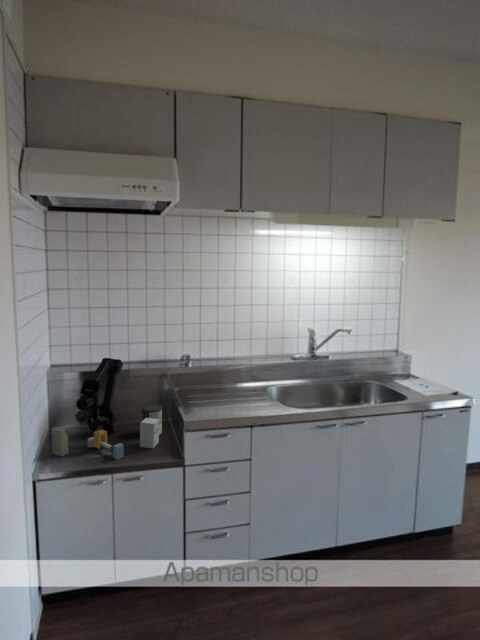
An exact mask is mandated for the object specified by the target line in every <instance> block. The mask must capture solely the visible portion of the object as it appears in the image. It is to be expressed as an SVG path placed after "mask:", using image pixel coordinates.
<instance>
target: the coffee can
mask: <svg viewBox="0 0 480 640" xmlns="http://www.w3.org/2000/svg"><path fill="white" fill-rule="evenodd" d="M145 418H153V419H159V436H160V435H161V434H162V432H163V428H162V427H163V425H162V424H163V406H162V405H161V404H157V403H149V404H145V405H143V406H142V421H143V420H144V419H145Z"/></svg>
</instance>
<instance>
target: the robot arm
mask: <svg viewBox="0 0 480 640" xmlns="http://www.w3.org/2000/svg"><path fill="white" fill-rule="evenodd" d="M123 367H124V363H123V361H122V360H121V359H117V358H111V357H103V358H102V359H101V362H100V364H99V365H98V367H97V368H96V369H95V371H94V372H93V373H92V374H90V375H87V377H86V378H85V379H84V380H83V383H82V386H81V389H80V394H81V395H80V396H79V399H77V401H76V408H77V410H78V409H79V410H78V411H77V413H76V414H75V415H74V417H75V420H76V421H77V422H79V423H81V424H82V423H84V422H85V423H86V424H87V425H88V428H89V432H90V434H91V435H94V432H95V431H97V429H98V427H101V429H100V430H105V431H107V436H108V435H112V434H115V433H116V432H117V430H115V427H114V425H115V424H114V423H117V420H118V415H117V414H116V412H115V407H114V405H113V401H114V395H115V388H116V383H117V378H118V376H119V375H120V373H121V372H122V369H123ZM106 374H107V378H106V383H105V388H104V394H103V400H102V403H101V404H99V394H100V392H101V387H102V380H103V378H104V377H105V375H106Z"/></svg>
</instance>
